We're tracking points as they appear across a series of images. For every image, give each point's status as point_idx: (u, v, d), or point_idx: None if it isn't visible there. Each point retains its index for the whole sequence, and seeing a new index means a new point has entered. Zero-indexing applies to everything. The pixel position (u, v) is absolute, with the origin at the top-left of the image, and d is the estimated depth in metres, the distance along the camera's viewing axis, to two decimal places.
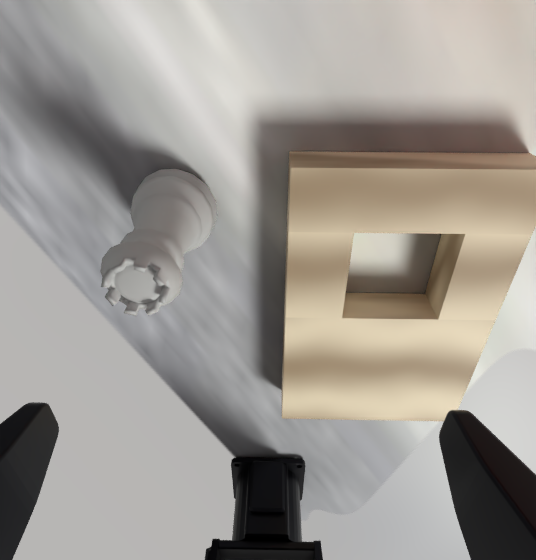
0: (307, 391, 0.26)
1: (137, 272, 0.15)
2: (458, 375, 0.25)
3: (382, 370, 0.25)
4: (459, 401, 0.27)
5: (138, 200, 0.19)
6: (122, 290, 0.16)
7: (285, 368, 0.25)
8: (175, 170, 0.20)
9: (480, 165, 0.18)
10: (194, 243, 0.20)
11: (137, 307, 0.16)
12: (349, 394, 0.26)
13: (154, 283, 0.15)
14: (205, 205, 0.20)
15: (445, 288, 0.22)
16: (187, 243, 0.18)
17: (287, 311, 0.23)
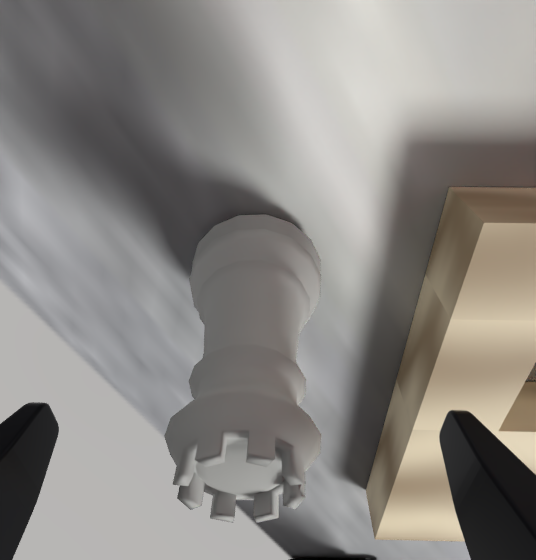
0: (419, 512, 0.19)
1: None
2: None
3: None
4: None
5: (206, 268, 0.12)
6: (211, 480, 0.08)
7: (395, 487, 0.18)
8: (263, 216, 0.12)
9: None
10: None
11: (235, 504, 0.08)
12: None
13: (276, 471, 0.08)
14: (313, 274, 0.12)
15: None
16: None
17: (417, 422, 0.15)
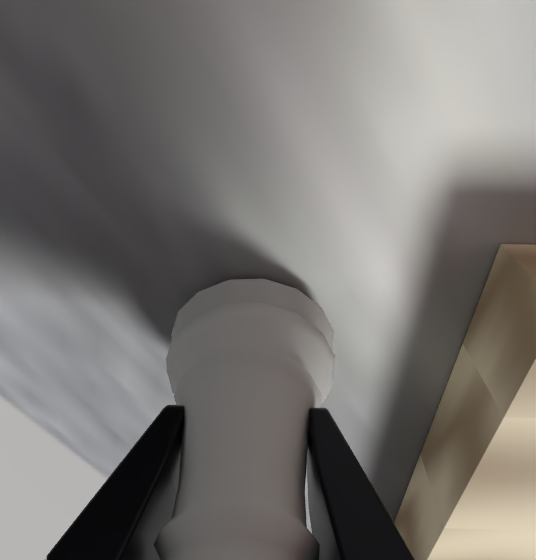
0: None
1: None
2: None
3: None
4: None
5: (186, 353, 0.09)
6: None
7: None
8: (260, 281, 0.10)
9: None
10: None
11: None
12: None
13: None
14: (326, 358, 0.09)
15: None
16: (305, 471, 0.08)
17: (451, 521, 0.12)
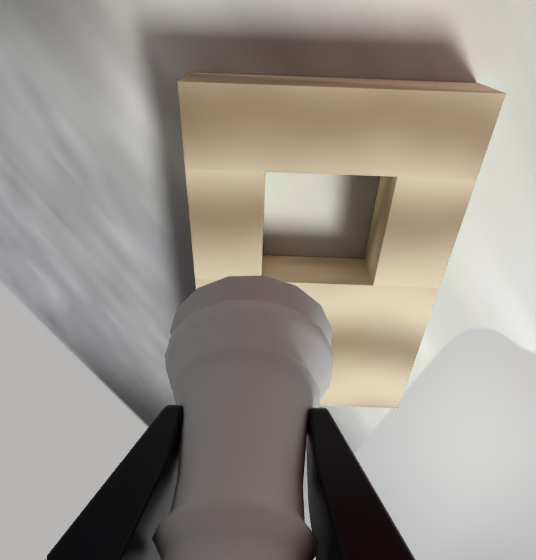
0: None
1: None
2: (401, 354, 0.22)
3: None
4: (404, 385, 0.23)
5: (185, 349, 0.09)
6: None
7: None
8: (260, 278, 0.10)
9: (412, 87, 0.15)
10: None
11: None
12: None
13: None
14: (325, 355, 0.09)
15: (379, 248, 0.19)
16: None
17: (196, 271, 0.19)
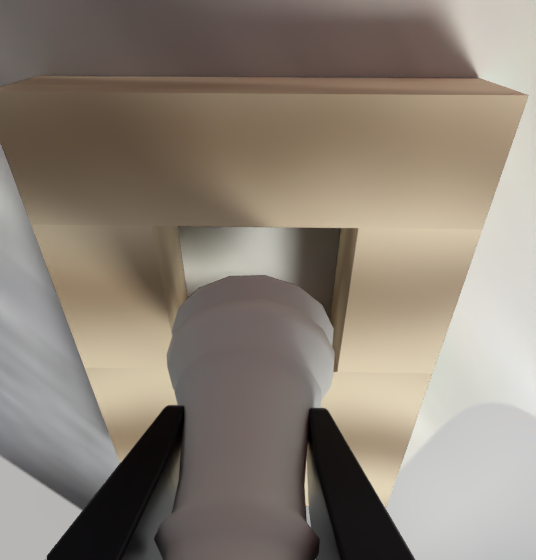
0: None
1: None
2: (384, 450, 0.16)
3: None
4: (392, 483, 0.18)
5: (186, 349, 0.09)
6: None
7: (114, 439, 0.16)
8: (261, 278, 0.10)
9: (372, 90, 0.09)
10: None
11: None
12: None
13: None
14: (326, 355, 0.09)
15: (342, 323, 0.13)
16: (305, 467, 0.08)
17: (84, 358, 0.13)
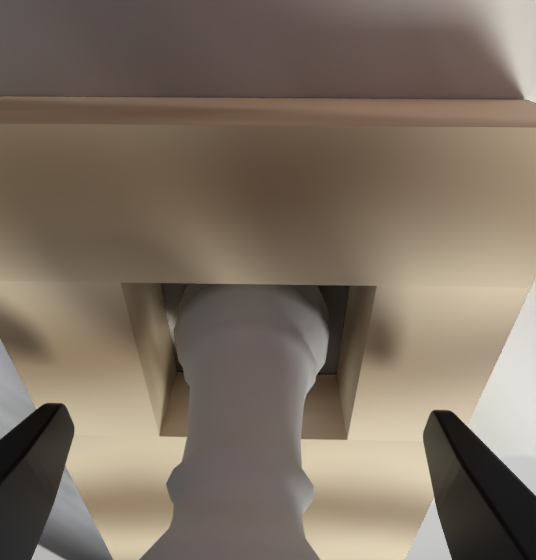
0: (143, 535, 0.15)
1: None
2: (399, 518, 0.14)
3: None
4: (406, 549, 0.16)
5: (194, 323, 0.10)
6: None
7: (89, 506, 0.14)
8: None
9: (398, 119, 0.07)
10: None
11: None
12: None
13: None
14: (322, 332, 0.10)
15: (353, 387, 0.11)
16: None
17: None
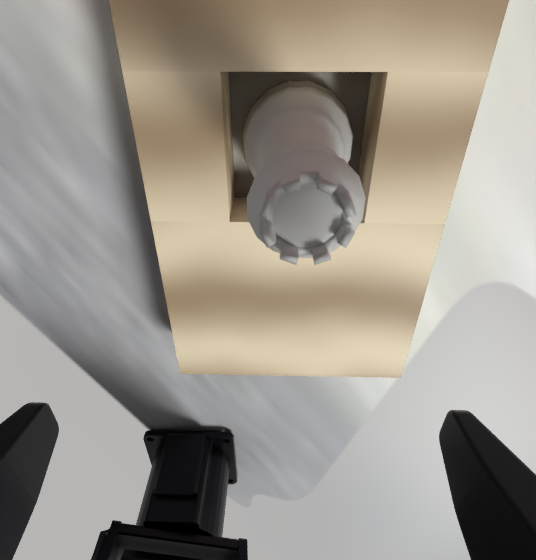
0: (205, 335, 0.20)
1: (314, 196, 0.10)
2: (401, 310, 0.19)
3: (299, 304, 0.19)
4: (406, 349, 0.20)
5: (261, 118, 0.14)
6: (283, 225, 0.10)
7: (168, 301, 0.19)
8: (307, 83, 0.15)
9: None
10: None
11: (298, 253, 0.11)
12: (261, 339, 0.20)
13: (333, 215, 0.10)
14: (348, 130, 0.15)
15: (370, 174, 0.15)
16: None
17: (151, 211, 0.16)
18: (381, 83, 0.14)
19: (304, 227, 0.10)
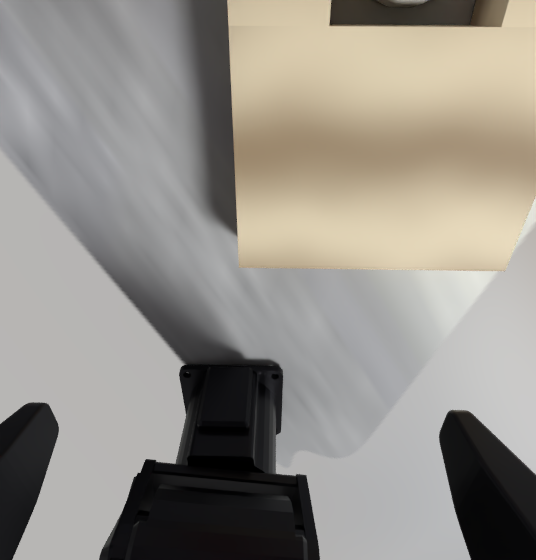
0: (276, 209, 0.16)
1: None
2: (523, 168, 0.15)
3: (398, 159, 0.15)
4: (519, 228, 0.17)
5: None
6: None
7: (237, 156, 0.15)
8: None
9: None
10: None
11: None
12: (344, 215, 0.16)
13: None
14: None
15: None
16: None
17: (230, 9, 0.13)
18: None
19: None
